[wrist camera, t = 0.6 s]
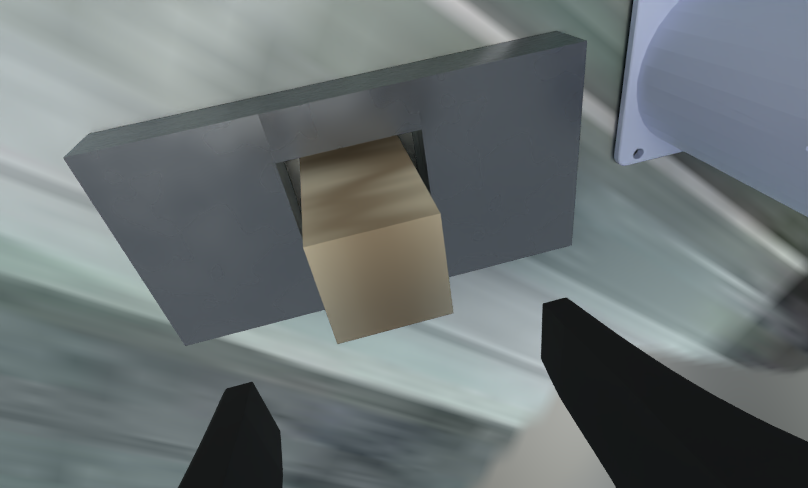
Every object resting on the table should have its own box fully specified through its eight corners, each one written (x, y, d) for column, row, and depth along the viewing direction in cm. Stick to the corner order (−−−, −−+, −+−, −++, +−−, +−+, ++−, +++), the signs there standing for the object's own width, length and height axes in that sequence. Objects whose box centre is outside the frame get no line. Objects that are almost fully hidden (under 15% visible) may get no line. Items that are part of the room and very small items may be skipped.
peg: (394, 130, 19) (440, 213, 13) (409, 212, 21) (453, 312, 15) (299, 152, 18) (303, 247, 13) (324, 233, 21) (337, 344, 15)
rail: (557, 30, 18) (587, 40, 16) (549, 221, 23) (571, 245, 21) (88, 134, 16) (63, 157, 14) (194, 312, 21) (185, 345, 20)
